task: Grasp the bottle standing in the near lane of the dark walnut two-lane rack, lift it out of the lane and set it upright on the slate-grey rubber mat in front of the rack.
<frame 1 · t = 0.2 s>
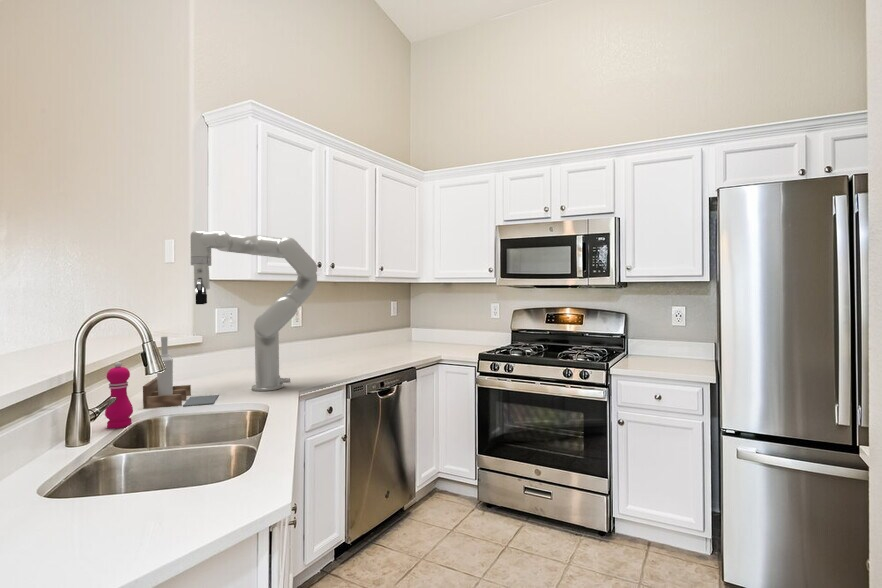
hand: (201, 303, 190), 36 cm above the worktop, tool pointing down, fingers open, 9 cm apart
lane rack: (168, 401, 178), on the worktop
pepper mill: (119, 426, 146), on the worktop
bottle: (165, 404, 173), resting in lane rack
rubber mat: (201, 401, 177), on the worktop
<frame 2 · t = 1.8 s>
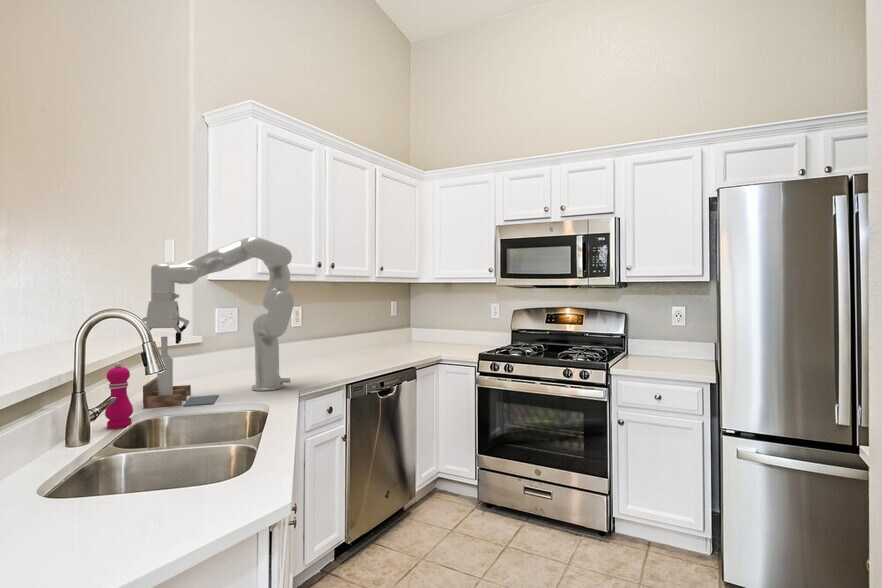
hand: (163, 343, 173), 22 cm above the worktop, tool pointing down, fingers open, 9 cm apart
nothing on the worktop moved.
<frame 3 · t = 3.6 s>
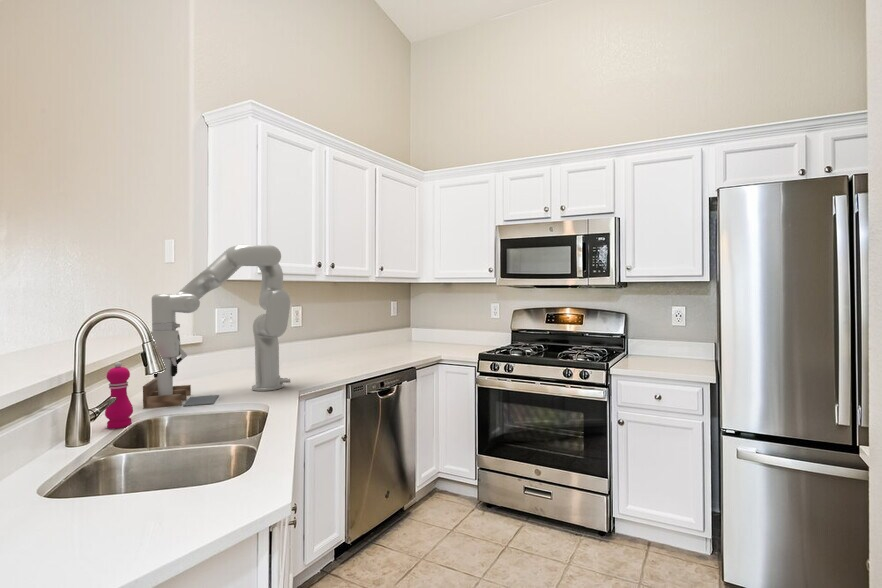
hand: (165, 375, 173), 10 cm above the worktop, tool pointing down, fingers closed on bottle, 5 cm apart
bottle: (165, 404, 173), resting in lane rack, touching gripper
everything else where it was.
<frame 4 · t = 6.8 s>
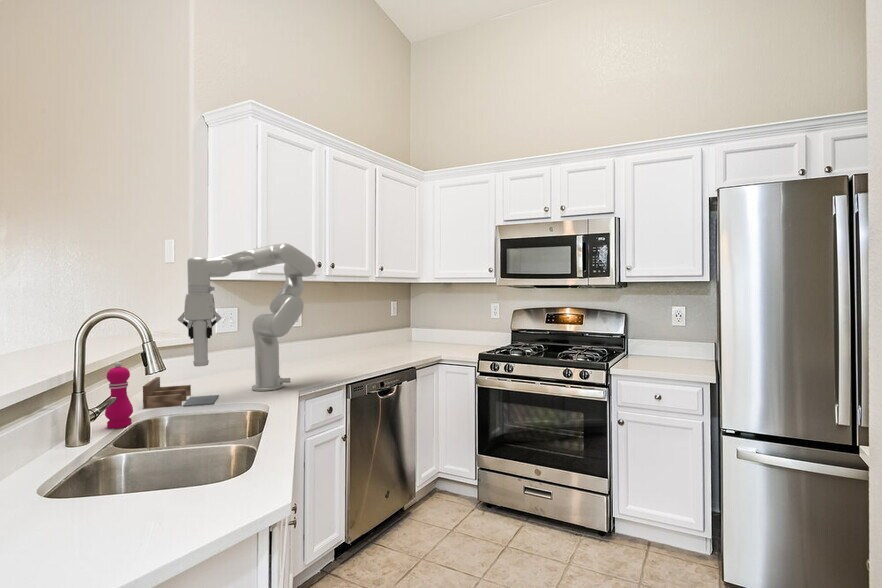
hand: (200, 337, 177), 24 cm above the worktop, tool pointing down, fingers closed on bottle, 5 cm apart
bottle: (201, 365, 177), point 13 cm above the worktop, touching gripper
everything else where it was.
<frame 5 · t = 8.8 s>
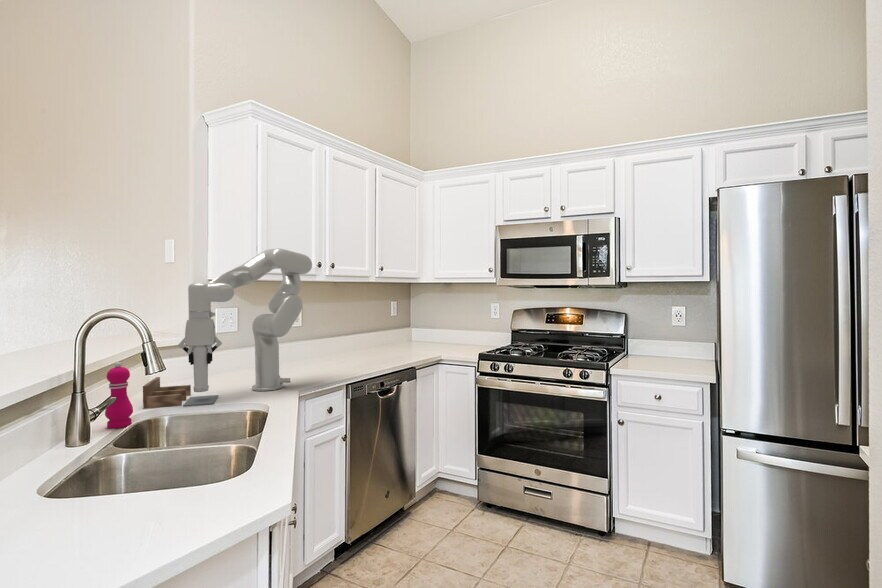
hand: (200, 363, 177), 14 cm above the worktop, tool pointing down, fingers closed on bottle, 5 cm apart
bottle: (201, 391, 177), point 4 cm above the worktop, touching gripper
everything else where it was.
when the fingers open (12 cm above the worktop, at t = 10.3 s): bottle drops 1 cm, resting on rubber mat.
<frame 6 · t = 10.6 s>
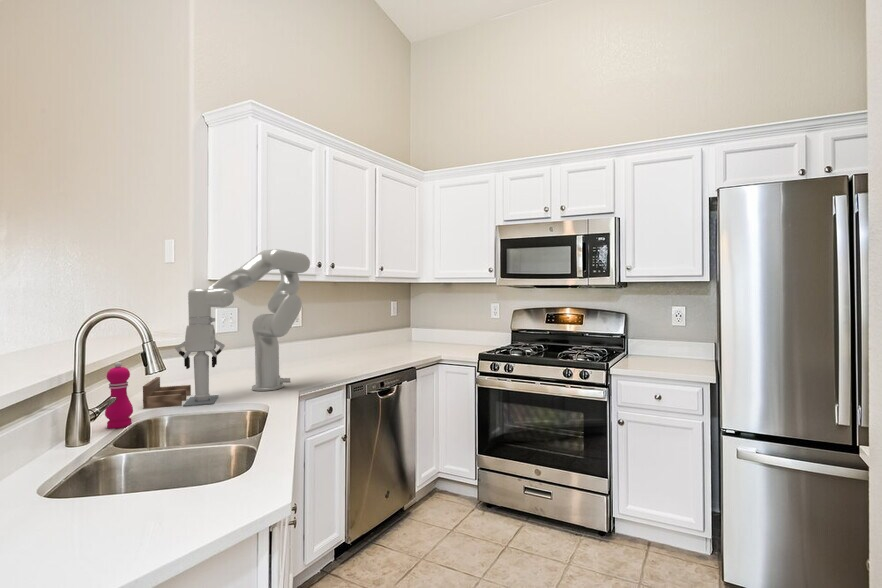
hand: (200, 367, 177), 13 cm above the worktop, tool pointing down, fingers open, 8 cm apart
bottle: (202, 400, 177), resting on rubber mat
everything else where it was.
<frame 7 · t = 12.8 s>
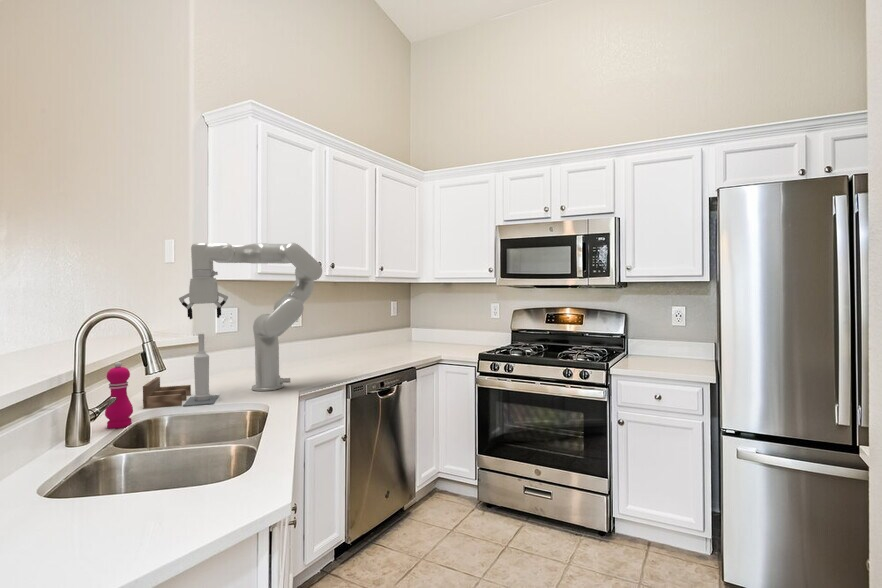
hand: (204, 318, 184), 31 cm above the worktop, tool pointing down, fingers open, 9 cm apart
nothing on the worktop moved.
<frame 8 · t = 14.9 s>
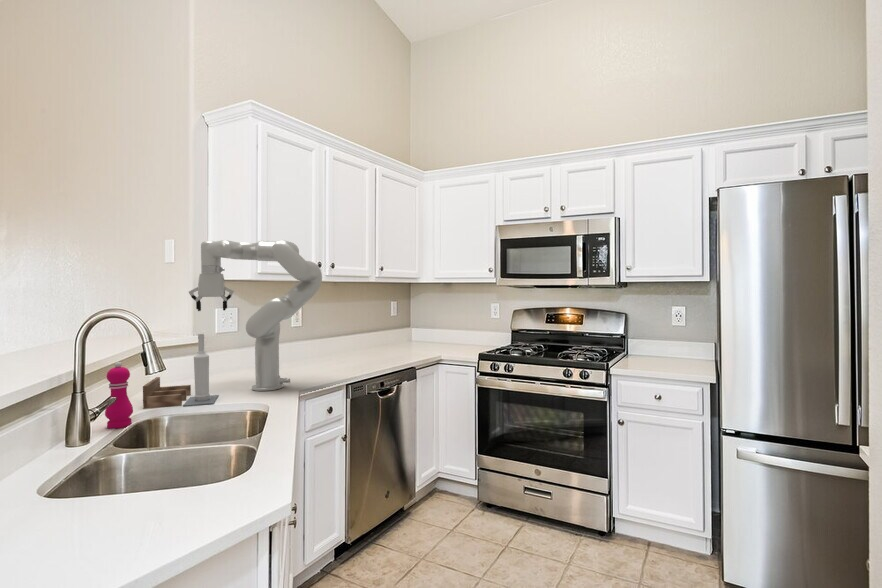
hand: (212, 310, 199), 33 cm above the worktop, tool pointing down, fingers open, 9 cm apart
nothing on the worktop moved.
at the end: bottle inside the target area on the rubber mat (0.2 cm from its centre), point 0.3 cm above the rubber mat's base; bottle tilted 0°; the gripper is holding nothing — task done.
